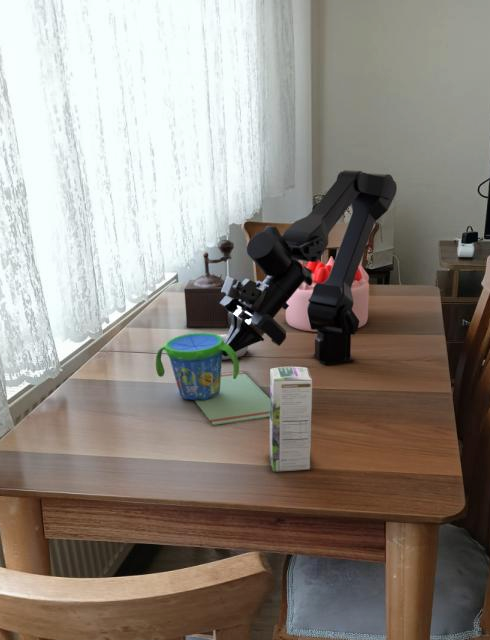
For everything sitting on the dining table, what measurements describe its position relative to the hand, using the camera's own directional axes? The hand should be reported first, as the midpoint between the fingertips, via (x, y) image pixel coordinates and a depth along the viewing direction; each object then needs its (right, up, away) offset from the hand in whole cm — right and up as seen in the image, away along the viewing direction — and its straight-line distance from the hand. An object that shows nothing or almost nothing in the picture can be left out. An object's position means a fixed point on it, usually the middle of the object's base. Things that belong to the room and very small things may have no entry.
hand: (222, 354), depth 143 cm
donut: (0, +4, +23) cm, 24 cm away
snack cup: (-4, -7, +2) cm, 9 cm away
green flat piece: (+1, -8, +1) cm, 8 cm away
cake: (+23, +15, +44) cm, 52 cm away
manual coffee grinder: (-5, +16, +49) cm, 51 cm away
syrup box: (+11, -21, -25) cm, 34 cm away
